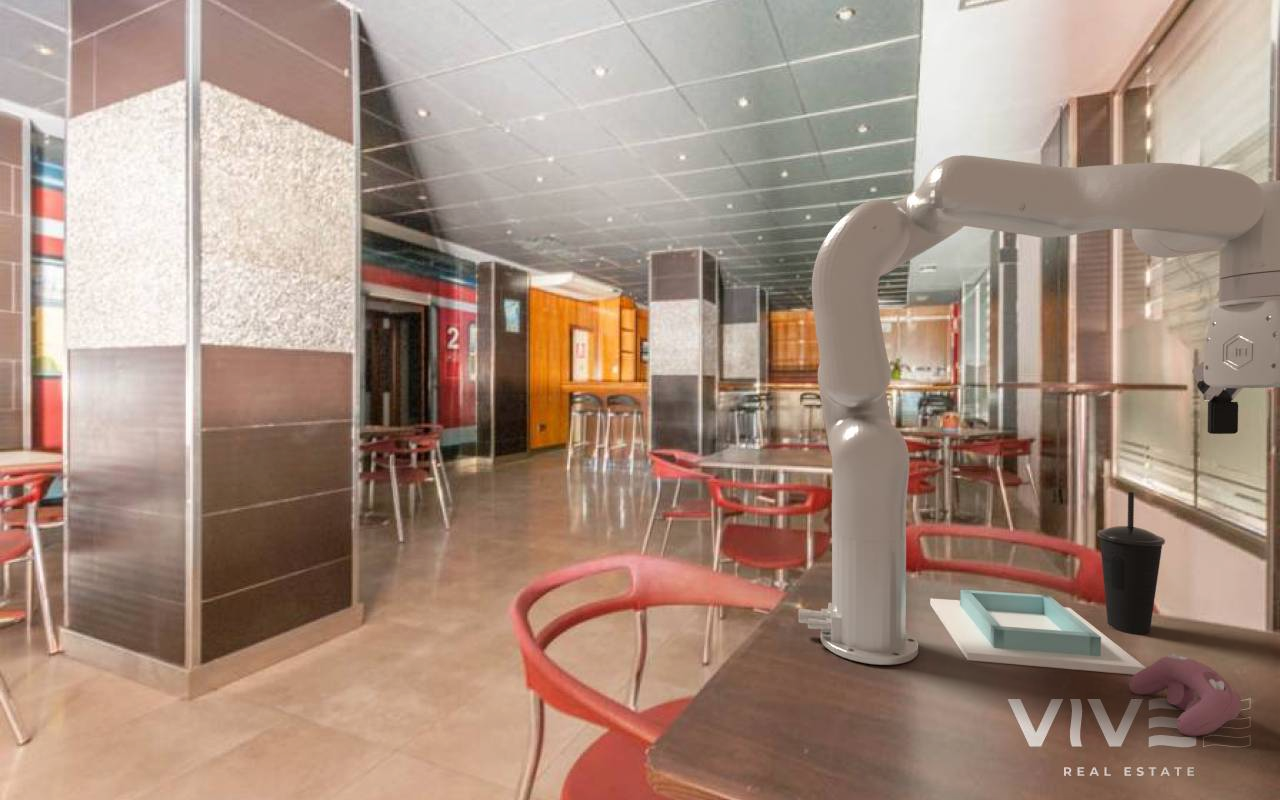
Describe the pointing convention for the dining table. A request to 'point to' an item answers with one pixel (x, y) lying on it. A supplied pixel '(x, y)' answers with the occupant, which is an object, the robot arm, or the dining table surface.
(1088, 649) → the dock
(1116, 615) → the drinking cup
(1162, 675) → the video game controller
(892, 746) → the dining table surface
